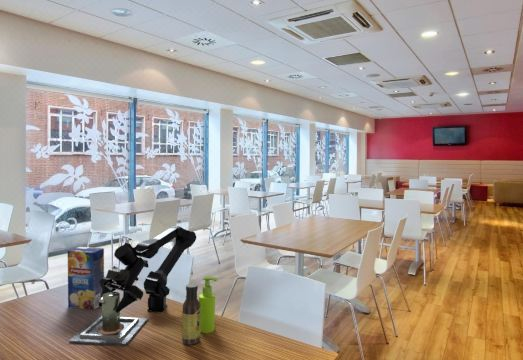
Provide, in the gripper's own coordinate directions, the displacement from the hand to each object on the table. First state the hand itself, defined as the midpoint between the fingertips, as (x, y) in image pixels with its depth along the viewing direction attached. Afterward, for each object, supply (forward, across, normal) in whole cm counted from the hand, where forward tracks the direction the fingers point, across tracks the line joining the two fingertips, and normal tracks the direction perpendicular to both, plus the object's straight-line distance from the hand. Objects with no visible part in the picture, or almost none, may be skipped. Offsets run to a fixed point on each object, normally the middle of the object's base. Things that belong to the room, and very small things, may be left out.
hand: (107, 309), depth 136 cm
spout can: (+4, 0, +6) cm, 8 cm away
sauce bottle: (-2, +30, +14) cm, 33 cm away
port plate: (+5, 0, +7) cm, 9 cm away
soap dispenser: (-9, +29, +21) cm, 37 cm away
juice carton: (-2, -28, +14) cm, 31 cm away
